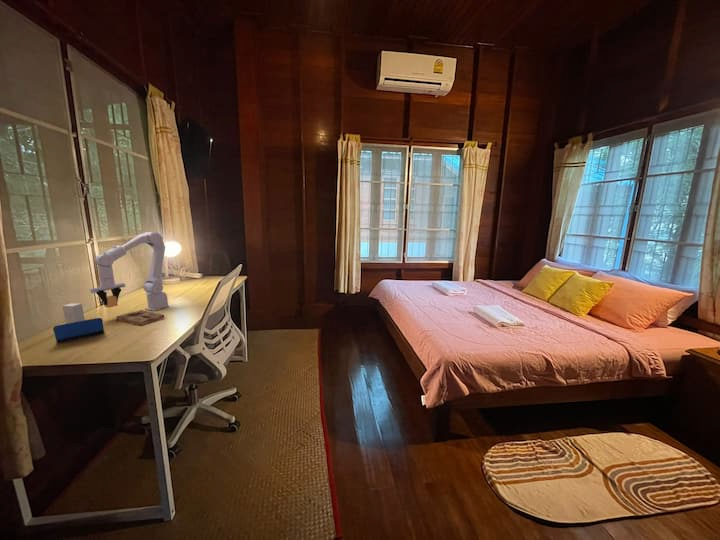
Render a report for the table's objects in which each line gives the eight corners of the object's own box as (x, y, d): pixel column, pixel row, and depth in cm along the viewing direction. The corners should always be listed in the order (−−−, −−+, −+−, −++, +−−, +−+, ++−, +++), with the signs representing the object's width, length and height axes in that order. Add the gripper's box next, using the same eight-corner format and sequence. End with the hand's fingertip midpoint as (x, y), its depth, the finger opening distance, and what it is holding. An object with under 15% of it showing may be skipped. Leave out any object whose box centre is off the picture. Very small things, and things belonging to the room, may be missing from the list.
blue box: (102, 329, 146) (99, 310, 144) (105, 337, 136) (102, 317, 135) (57, 338, 135) (53, 318, 133) (56, 347, 126) (52, 326, 124)
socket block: (141, 313, 168) (141, 309, 168) (164, 318, 160) (164, 314, 159) (116, 320, 157) (116, 316, 157) (140, 325, 149) (139, 322, 148)
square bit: (113, 304, 161) (112, 295, 160) (117, 305, 159) (116, 296, 158) (104, 306, 157) (103, 297, 156) (108, 307, 155) (107, 298, 154)
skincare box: (86, 327, 147) (82, 303, 145) (77, 330, 143) (73, 306, 141) (75, 326, 148) (70, 303, 146) (66, 330, 144) (61, 305, 142)
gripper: (118, 274, 163) (122, 299, 166) (85, 279, 150) (89, 306, 153) (125, 275, 160) (129, 300, 163) (92, 281, 147) (97, 308, 150)
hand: (110, 303), depth 158 cm, fingers closed on square bit, 4 cm apart
